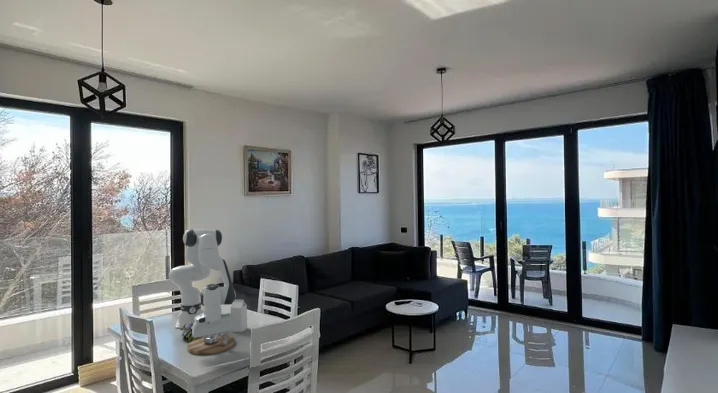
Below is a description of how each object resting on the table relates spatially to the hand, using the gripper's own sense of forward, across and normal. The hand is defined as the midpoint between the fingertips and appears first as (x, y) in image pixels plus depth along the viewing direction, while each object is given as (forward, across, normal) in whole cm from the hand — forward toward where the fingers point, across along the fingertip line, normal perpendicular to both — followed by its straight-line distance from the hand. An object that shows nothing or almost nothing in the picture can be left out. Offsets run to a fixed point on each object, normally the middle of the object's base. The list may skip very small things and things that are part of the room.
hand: (213, 342), depth 212 cm
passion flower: (+6, +6, -29) cm, 30 cm away
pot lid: (+3, -1, -9) cm, 9 cm away
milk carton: (+6, -21, -28) cm, 35 cm away
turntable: (+5, -1, -9) cm, 10 cm away
